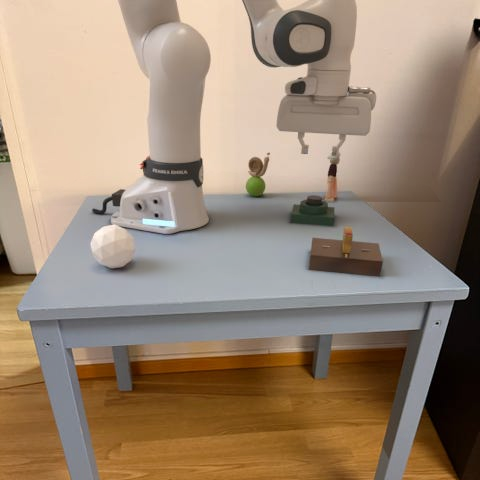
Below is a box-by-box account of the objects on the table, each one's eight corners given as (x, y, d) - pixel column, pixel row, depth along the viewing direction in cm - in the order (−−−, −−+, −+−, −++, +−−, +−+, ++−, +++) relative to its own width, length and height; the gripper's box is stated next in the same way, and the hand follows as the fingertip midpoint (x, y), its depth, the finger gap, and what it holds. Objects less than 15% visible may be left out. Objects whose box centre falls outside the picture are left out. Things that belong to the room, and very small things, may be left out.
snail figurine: (261, 200, 122) (264, 154, 116) (241, 196, 125) (243, 151, 119) (271, 196, 126) (274, 151, 120) (251, 192, 129) (253, 148, 123)
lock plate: (308, 269, 85) (310, 253, 83) (310, 251, 93) (312, 236, 91) (379, 276, 83) (383, 260, 81) (376, 257, 91) (378, 242, 89)
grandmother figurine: (339, 203, 122) (345, 154, 116) (324, 202, 122) (330, 153, 116) (334, 195, 129) (340, 148, 122) (320, 194, 129) (326, 147, 122)
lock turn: (341, 243, 88) (344, 225, 86) (349, 244, 88) (351, 225, 86) (342, 252, 84) (345, 233, 82) (350, 253, 84) (353, 234, 82)
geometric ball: (107, 276, 86) (90, 238, 86) (146, 260, 86) (129, 221, 86) (95, 274, 79) (77, 231, 78) (138, 256, 79) (119, 213, 78)
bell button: (306, 206, 107) (306, 198, 106) (306, 202, 110) (307, 194, 109) (321, 207, 106) (322, 200, 105) (321, 203, 109) (322, 195, 108)
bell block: (290, 223, 107) (291, 206, 105) (293, 212, 114) (294, 197, 112) (333, 226, 106) (335, 209, 104) (333, 215, 113) (335, 200, 111)
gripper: (376, 86, 96) (365, 154, 103) (280, 82, 99) (276, 149, 106) (379, 88, 91) (367, 160, 98) (277, 84, 94) (273, 154, 101)
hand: (319, 154), depth 102 cm, fingers open, 5 cm apart
